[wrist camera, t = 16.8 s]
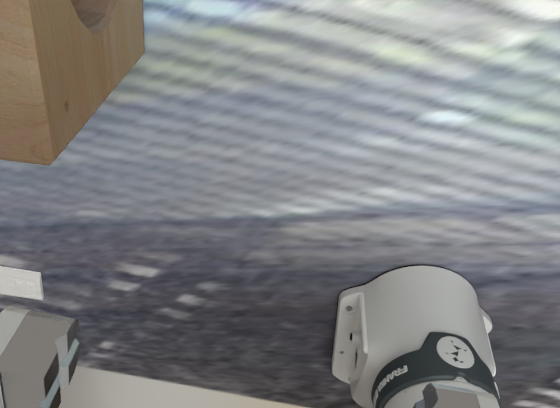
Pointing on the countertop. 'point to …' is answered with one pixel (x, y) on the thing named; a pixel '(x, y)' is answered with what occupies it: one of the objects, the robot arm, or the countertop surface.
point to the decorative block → (60, 69)
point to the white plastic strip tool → (21, 283)
